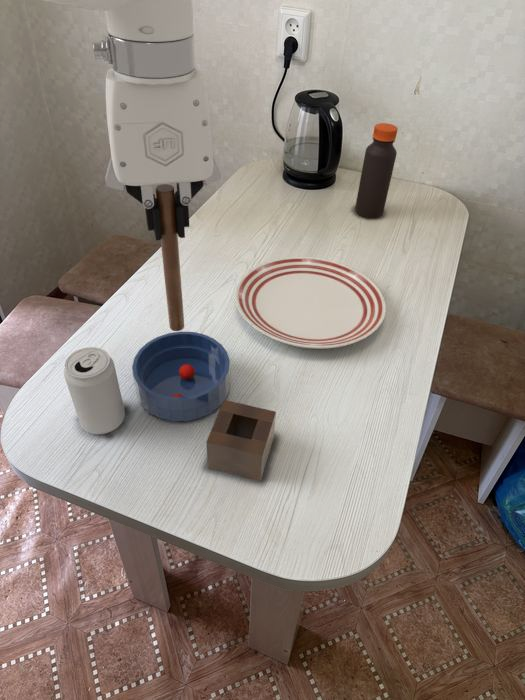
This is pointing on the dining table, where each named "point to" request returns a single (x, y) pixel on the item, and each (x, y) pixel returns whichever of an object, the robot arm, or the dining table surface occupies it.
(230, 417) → the holder
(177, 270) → the stirring stick
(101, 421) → the beverage can
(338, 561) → the dining table surface
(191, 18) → the robot arm
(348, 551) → the dining table surface
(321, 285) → the dinner plate
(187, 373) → the tomato
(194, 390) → the bowl
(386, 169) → the bottle
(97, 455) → the dining table surface
